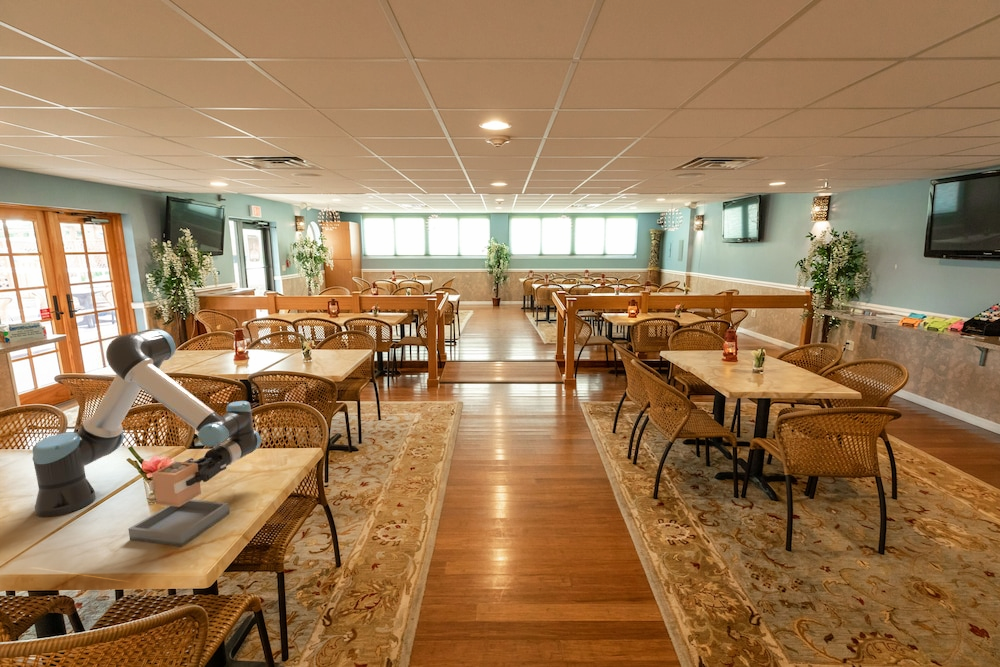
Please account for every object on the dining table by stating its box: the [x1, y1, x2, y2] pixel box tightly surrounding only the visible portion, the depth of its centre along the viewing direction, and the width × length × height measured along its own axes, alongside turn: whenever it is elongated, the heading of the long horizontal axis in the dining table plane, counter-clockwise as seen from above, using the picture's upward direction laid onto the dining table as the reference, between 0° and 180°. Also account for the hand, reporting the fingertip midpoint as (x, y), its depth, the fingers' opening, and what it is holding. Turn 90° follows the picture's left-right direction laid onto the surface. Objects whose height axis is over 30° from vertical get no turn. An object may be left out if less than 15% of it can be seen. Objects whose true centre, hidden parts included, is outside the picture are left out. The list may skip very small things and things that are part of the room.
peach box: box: [151, 461, 202, 507], centre depth 144 cm, size 8×8×11 cm
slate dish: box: [128, 498, 230, 547], centre depth 145 cm, size 18×18×4 cm
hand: (162, 487), depth 139 cm, fingers closed on peach box, 8 cm apart
